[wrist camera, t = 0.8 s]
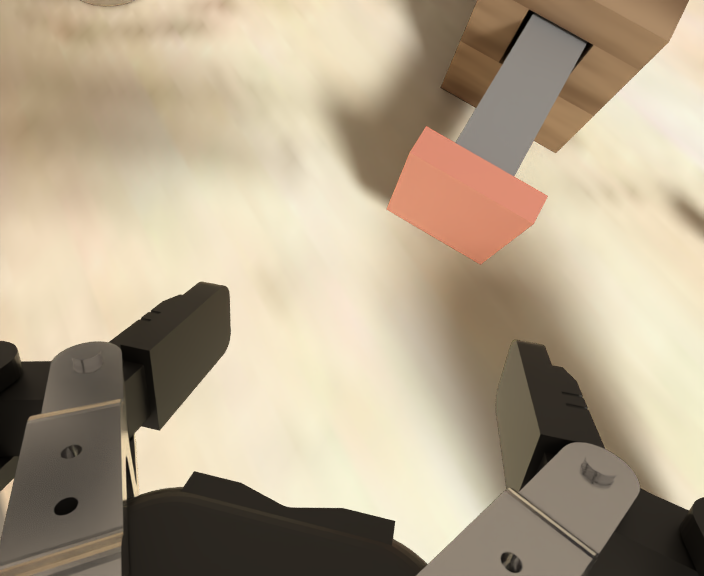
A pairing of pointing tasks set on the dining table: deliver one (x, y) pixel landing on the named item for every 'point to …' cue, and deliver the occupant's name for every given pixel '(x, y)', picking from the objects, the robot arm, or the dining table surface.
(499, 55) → the block
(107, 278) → the dining table surface
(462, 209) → the salmon square plate
